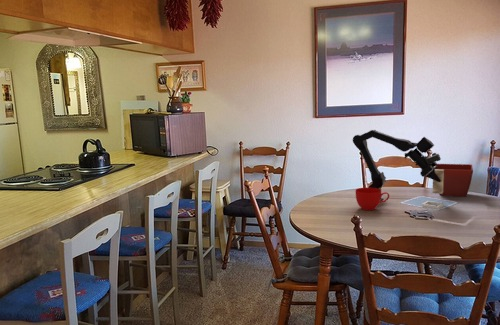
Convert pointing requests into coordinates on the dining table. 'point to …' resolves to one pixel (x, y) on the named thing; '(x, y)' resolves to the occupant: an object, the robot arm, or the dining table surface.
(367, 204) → the ceramic cup
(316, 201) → the dining table surface
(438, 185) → the maple pillar
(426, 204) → the collar
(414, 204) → the board
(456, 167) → the plant pot
